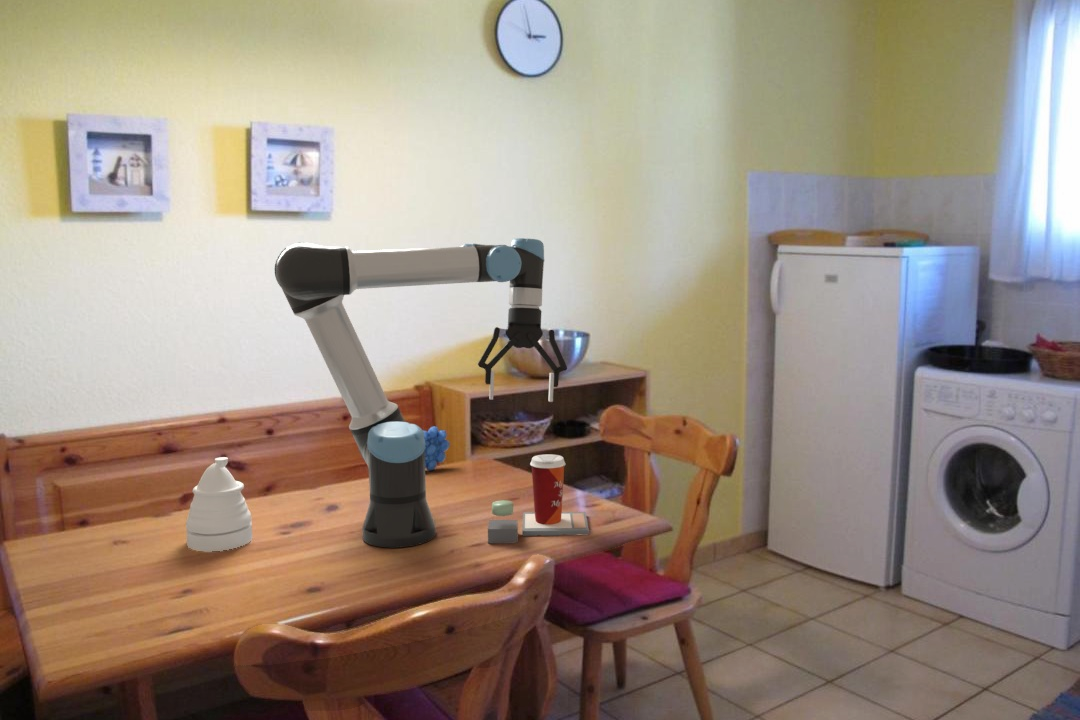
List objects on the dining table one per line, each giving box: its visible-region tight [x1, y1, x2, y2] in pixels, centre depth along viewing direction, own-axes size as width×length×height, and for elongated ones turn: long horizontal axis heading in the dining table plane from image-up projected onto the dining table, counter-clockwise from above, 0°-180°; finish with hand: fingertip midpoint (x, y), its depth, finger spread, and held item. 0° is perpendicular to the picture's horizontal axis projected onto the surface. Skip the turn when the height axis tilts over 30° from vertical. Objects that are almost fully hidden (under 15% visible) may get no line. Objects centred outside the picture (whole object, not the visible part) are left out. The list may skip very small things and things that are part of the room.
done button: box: [491, 500, 514, 517], centre depth 188 cm, size 4×4×2 cm
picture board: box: [521, 511, 590, 537], centre depth 196 cm, size 14×13×1 cm
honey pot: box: [185, 456, 253, 553], centre depth 187 cm, size 13×13×18 cm
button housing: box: [487, 519, 519, 544], centre depth 188 cm, size 6×6×3 cm
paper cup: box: [529, 453, 567, 525], centre depth 196 cm, size 8×8×14 cm
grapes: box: [422, 425, 450, 471], centre depth 244 cm, size 12×7×12 cm, turn 122°
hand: (520, 400), depth 206 cm, fingers open, 13 cm apart
